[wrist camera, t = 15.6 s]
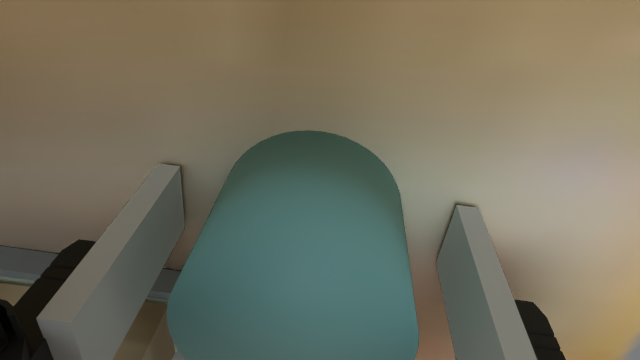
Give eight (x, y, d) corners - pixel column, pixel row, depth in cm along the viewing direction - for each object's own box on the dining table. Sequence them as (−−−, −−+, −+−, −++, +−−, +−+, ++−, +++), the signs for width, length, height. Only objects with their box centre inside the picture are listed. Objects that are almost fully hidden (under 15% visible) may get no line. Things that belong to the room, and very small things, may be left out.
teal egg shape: (223, 117, 14) (154, 224, 9) (420, 144, 14) (450, 265, 9) (225, 262, 17) (176, 391, 13) (382, 283, 17) (390, 422, 13)
